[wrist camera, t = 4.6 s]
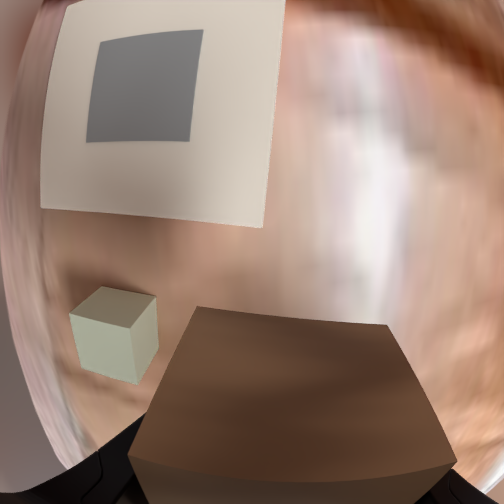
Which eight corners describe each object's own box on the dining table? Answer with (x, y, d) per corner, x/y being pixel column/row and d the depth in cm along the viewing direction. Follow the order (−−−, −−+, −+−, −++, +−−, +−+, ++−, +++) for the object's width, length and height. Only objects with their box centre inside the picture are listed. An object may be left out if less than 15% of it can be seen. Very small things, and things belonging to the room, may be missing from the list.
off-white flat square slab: (286, -14, 13) (287, -24, 12) (263, 224, 18) (262, 228, 17) (74, 9, 14) (66, 5, 12) (49, 205, 18) (39, 208, 17)
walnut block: (387, 324, 8) (457, 461, 3) (338, 438, 10) (354, 547, 5) (196, 306, 8) (127, 454, 3) (197, 427, 10) (168, 538, 5)
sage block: (156, 295, 20) (129, 328, 16) (159, 347, 21) (137, 385, 17) (102, 285, 20) (69, 313, 16) (108, 335, 21) (81, 368, 17)
